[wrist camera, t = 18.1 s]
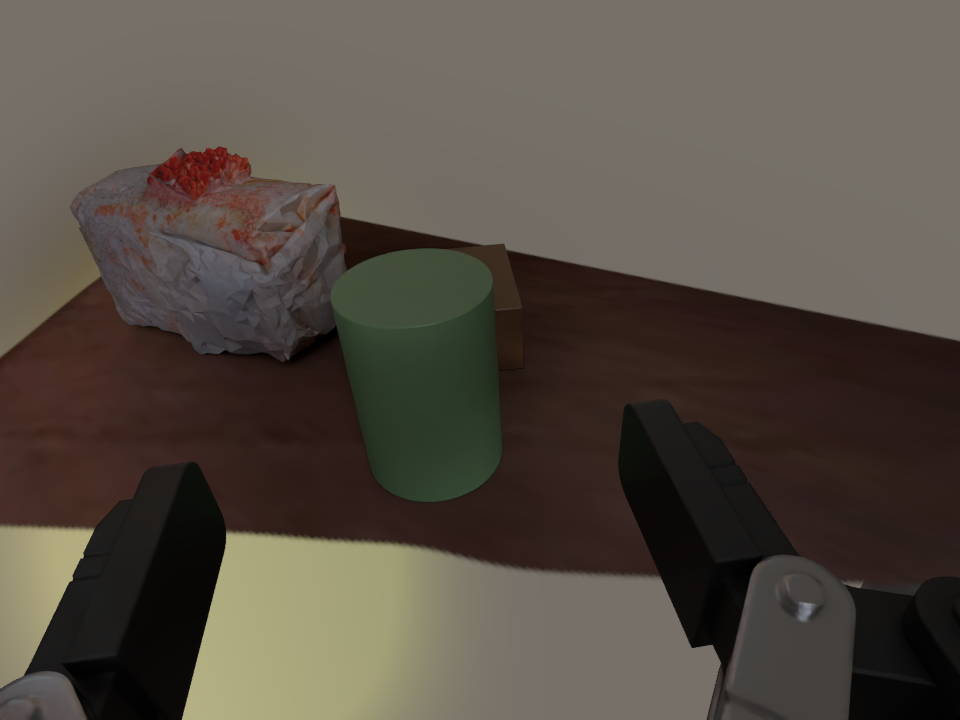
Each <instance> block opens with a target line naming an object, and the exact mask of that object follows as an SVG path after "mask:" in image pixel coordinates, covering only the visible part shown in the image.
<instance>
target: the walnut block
mask: <svg viewBox="0 0 960 720" xmlns="http://www.w3.org/2000/svg"><path fill="white" fill-rule="evenodd" d="M445 250H452V251H457V252H461V253H464V254H467V255H470V256H472V257H474V258H476V259H478V260H480V261H481V262H483V263H484V264H485V265H486V266H487V267H488V268H489V270H490V272H491V274H492V276H493V283H494V302H495V320H496V339H497V357H498V371H499V370H509V369H519V368H524V350H523V308H522V304H521V301H520V297H519V294H518V290H517V287H516V283H515V280H514V276H513V273H512V269H511V266H510V262H509V259H508V255H507V252H506V248H505V245H504V244H497V245H486V246H475V247H465V248H454V249H445ZM379 256H380V255H379Z"/></svg>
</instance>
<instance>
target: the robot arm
mask: <svg viewBox="0 0 960 720" xmlns="http://www.w3.org/2000/svg"><path fill="white" fill-rule="evenodd" d="M618 466H619V475H620V480H621V484H622V488H623V491H624V493H625V496H626V498H627V500H628V503H629V505H630V507H631V509H632V512H633V514H634V516H635V519H636V521H637V523H638V526H639V528H640V530H641V532H642V535H643V537H644V539H645V542H646V544H647V546H648V549H649V551H650V553H651V555H652V558H653V560H654V562H655V565H656V567H657V569H658V572H659V574H660V576H661V578H662V581H663V583H664V585H665V587H666V590H667V592H668V594H669V597H670V599H671V601H672V604H673V606H674V608H675V611H676V613H677V615H678V618H679V620H680V622H681V624H682V627H683V629H684V631H685V633H686V636H687V638H688V641H689V643H690V645H691V647H692V648H695V647H701V646H707V645H713V646H714V649H715V651H716V653H717V655H718V657H719V659H720V662H721V665H720V668H719V671H718V676H717V680H716V684H715V688H714V692H713V696H712V700H711V704H710V708H709V712H708V716H707V720H960V578H957V577H937V578H932V579H930V580H927V581H926V582H924V583H923V584H922V585H921V586H920V588H919V589H918V590H917V592H916V594H915V595H914V596H910V595H903V594H896V593H888V592H881V591H874V590H867V589H861V588H856V587H851V586H848V585H845V584H843V583H842V582H841V581H840V579H838V578H837V577H836V576H835V575H834V574H833V573H832V572H830V571H829V570H827V569H826V568H825V567H823V566H821V565H819V564H817V563H816V562H813V561H811V560H808V559H806V558H802V557H800V556H799V554H798V553H797V552H796V551H795V549H794V548H793V546H792V545H791V543H790V542H789V540H788V539H787V537H786V536H785V534H784V533H783V532H782V530H781V529H780V527H779V526H778V524H777V523H776V521H775V520H774V518H773V517H772V515H771V514H770V512H769V511H768V509H767V508H766V506H765V505H764V503H763V502H762V500H761V499H760V497H759V496H758V494H757V493H756V491H755V490H754V488H753V487H752V485H751V484H750V483H748V482H747V478H746V476H745V475H744V473H743V472H742V470H741V469H740V467H739V466H738V465H736V464H735V460H734V458H733V457H732V456H731V454H730V453H729V451H728V450H727V448H726V447H725V445H724V444H723V442H722V441H721V439H720V438H718V437H717V436H716V435H714V434H713V433H712V432H710V431H709V430H708V429H706V428H705V427H704V426H702V425H701V424H700V423H698V422H693V423H686V424H683V423H682V421H681V420H680V418H679V417H678V415H677V413H676V412H675V410H674V408H673V407H672V405H671V404H670V402H669V401H668V400H666V399H661V400H653V401H646V402H639V403H631V404H627V405H626V406H625V408H624V413H623V422H622V431H621V441H620V450H619V460H618ZM225 544H226V528H225V522H224V518H223V515H222V513H221V511H220V509H219V507H218V504H217V502H216V500H215V498H214V496H213V494H212V492H211V490H210V488H209V485H208V483H207V481H206V479H205V477H204V475H203V473H202V471H201V469H200V467H199V466H198V464H196V463H195V462H187V463H180V464H172V465H165V466H158V467H151V468H149V469H147V470H146V472H145V473H144V475H143V477H142V479H141V481H140V484H139V486H138V488H137V490H136V493H135V495H134V497H133V499H130V500H123V501H119V502H118V503H117V504H116V506H115V507H114V508H113V509H112V510H111V511H110V512H109V513H108V514H107V515H106V516H105V517H104V518H103V519H102V521H101V522H100V523H99V524H98V525H97V526H96V528H95V530H94V532H93V534H92V536H91V538H90V540H89V542H88V544H87V547H86V549H85V551H84V553H83V554H84V558H83V559H80V561H79V563H78V565H77V568H76V569H75V572H74V574H73V581H71V582H69V584H68V586H67V588H66V591H65V592H64V594H63V597H62V599H61V601H60V603H59V605H58V607H57V609H56V611H55V613H54V615H53V617H52V619H51V621H50V624H49V626H48V628H47V630H46V632H45V634H44V636H43V638H42V640H41V642H40V645H39V646H38V649H37V651H36V653H35V655H34V657H33V659H32V662H31V663H30V665H29V667H28V669H27V671H26V673H25V674H24V676H23V677H21V678H19V679H16V680H14V681H12V682H11V683H9V684H7V685H6V686H4V687H3V688H1V689H0V720H182V716H183V712H184V708H185V705H186V701H187V697H188V692H189V689H190V685H191V681H192V677H193V673H194V669H195V665H196V661H197V657H198V653H199V649H200V645H201V642H202V637H203V634H204V630H205V626H206V622H207V618H208V614H209V610H210V606H211V602H212V598H213V594H214V590H215V586H216V582H217V579H218V574H219V571H220V566H221V563H222V559H223V555H224V550H225Z"/></svg>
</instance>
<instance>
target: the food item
mask: <svg viewBox="0 0 960 720" xmlns="http://www.w3.org/2000/svg"><path fill="white" fill-rule="evenodd" d="M250 174H251V165H250V164H249V163H248V159H247V158H241V157H240V156H238V155H237V154H235V155H233V156H231V154H228V153H227V148H223V147H218V148H216V149H215V150H213V149H209V148H207V149H206V151H205V152H204V153H201V152H190V153H189V154H186V153H185V152H184V151H183V149H182V148H180V149H179V150H177V151H176V152H175V153H174V155H173V156H172V157H170V158H169V160H167V161H166V162H164V163H163V164H159V165H147V166H140V167H134V168H129V169H124V170H119V171H116V172H114V173H113V174H111V175H109V176H107V177H106V178H104V179H102V180H100V181H99V182H96V183H95V184H93V185H91V186H89V187H87V188H86V189H84V190H82V191H81V192H80V193H79V194H78V195H77V196H76V197H75V198H74V199H73V201H72V203H71V206H70V208H71V210H72V212H73V214H74V216H75V218H76V219H77V221H78V222H79V224H80V226H81V228H79V229H80V231H81V233H82V235H83V237H84V239H85V241H86V243H87V245H88V247H89V249H90V251H91V253H92V256H93V258H94V260H95V262H96V264H97V266H98V267H99V271H100V274H101V277H102V279H103V281H104V283H105V285H106V287H107V289H108V291H109V292H110V293H111V295H112V297H113V300H114V302H115V305H116V309H117V311H118V313H119V315H120V317H121V318H122V319H123V320H124V321H126V322H127V323H128V324H130V325H141V326H144V327H145V326H154V327H159V328H160V329H161V330H165V331H171V332H175V333H178V334H181V335H182V336H183V337H184V338H185V339H186V340H187V341H188V342H189V343H190V344H191V346H192V347H193V349H194V350H195V351H197V352H198V353H199V354H202V355H203V354H205V353H213V354H220V353H221V352H223V351H224V350H225V349H226V350H227V351H229V352H231V353H235V354H254V353H260V352H264V353H268V354H270V355H271V356H273V357H274V358H276V359H277V360H279V361H281V362H282V363H283V362H285V361H286V360H289V359H290V358H291V356H293V355H295V354H297V353H298V352H299V351H301V350H303V349H305V348H307V347H308V346H310V345H311V343H314V342H315V341H316V340H318V339H320V338H321V337H322V336H324V335H325V334H327V333H328V332H329V331H331V330H332V329H333V328H334V327H335V326H336V322H335V318H334V314H333V309H332V305H331V301H330V294H331V290H332V288H333V286H334V284H335V282H336V281H337V280H338V279H339V278H340V277H341V276H342V275H343V274H344V273H345V272H347V270H346V265H345V260H344V253H345V252H346V248H345V245H344V244H342V238H341V227H340V209H339V201H338V197H337V194H336V189H335V185H331V184H315V185H312V184H306V183H293V182H287V181H281V180H270V179H261V178H255V177H250Z"/></svg>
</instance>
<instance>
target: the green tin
mask: <svg viewBox="0 0 960 720" xmlns="http://www.w3.org/2000/svg"><path fill="white" fill-rule="evenodd" d="M330 301H331V305H332V309H333V314H334V318H335V322H336V326H337V330H338V335H339V339H340V343H341V347H342V351H343V355H344V360H345V364H346V368H347V372H348V376H349V381H350V385H351V389H352V393H353V397H354V402H355V406H356V410H357V414H358V418H359V422H360V427H361V431H362V435H363V439H364V443H365V448H366V452H367V456H368V460H369V464H370V468H371V472H372V474H373V476H374V478H375V479H376V480H377V482H378V483H379V484H380V485H381V486H382V487H383V488H384V489H386V490H387V491H389V492H390V493H392V494H394V495H396V496H398V497H401V498H404V499H408V500H412V501H419V502H437V501H444V500H449V499H453V498H456V497H460V496H462V495H465V494H467V493H469V492H471V491H473V490H474V489H476V488H478V487H479V486H480V485H482V484H483V483H484V482H485V481H486V480H488V479H489V478H490V476H491V475H492V474H493V473H494V471H495V470H496V468H497V466H498V464H499V462H500V460H501V455H502V431H501V413H500V394H499V376H498V357H497V339H496V320H495V302H494V283H493V276H492V274H491V272H490V270H489V268H488V267H487V266H486V265H485V264H484V263H483V262H481V261H480V260H478V259H476V258H474V257H472V256H470V255H467V254H464V253H461V252H457V251H452V250H445V249H410V250H403V251H397V252H392V253H388V254H384V255H380V256H377V257H374V258H371V259H369V260H366V261H364V262H362V263H360V264H358V265H356V266H354V267H352V268H351V269H349V270H348V271H347V272H345V273H344V274H343V275H342V276H341V277H340V278H339V279H338V280H337V281H336V282H335V284H334V286H333V288H332V290H331V294H330Z"/></svg>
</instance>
